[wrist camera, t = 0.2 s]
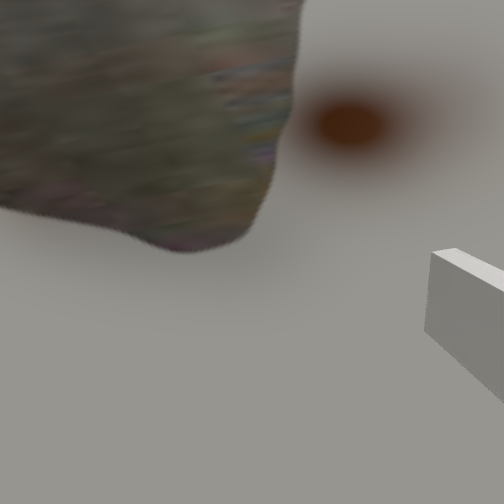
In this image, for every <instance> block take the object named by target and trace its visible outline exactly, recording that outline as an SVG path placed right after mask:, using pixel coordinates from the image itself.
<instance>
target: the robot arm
mask: <svg viewBox="0 0 504 504" xmlns="http://www.w3.org/2000/svg"><path fill="white" fill-rule="evenodd" d="M424 331H425V332H426V333H427V334H428V335H429V336H431V337H432V338H433V339H434V340H435V341H436V342H437V343H438V344H439V345H440V346H441V347H443V348H444V349H445V350H446V351H447V352H448V353H449V354H450V355H451V356H452V357H454V358H455V359H456V360H457V361H458V362H459V363H460V364H461V365H462V366H463V367H465V368H466V369H467V370H468V371H469V372H470V373H471V374H472V375H473V376H474V377H476V378H477V379H478V380H479V381H480V382H481V383H482V384H483V385H484V386H485V387H486V388H488V389H489V390H490V391H491V392H492V393H493V394H494V395H495V396H496V397H497V398H499V399H500V400H501V401H502V402H503V403H504V271H502V270H500V269H498V268H496V267H494V266H492V265H489V264H487V263H485V262H483V261H481V260H479V259H477V258H474V257H473V256H471V255H469V254H466V253H464V252H462V251H460V250H458V249H456V248H453V249H447V250H441V251H434V252H432V253H431V262H430V272H429V283H428V294H427V305H426V316H425V328H424Z"/></svg>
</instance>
